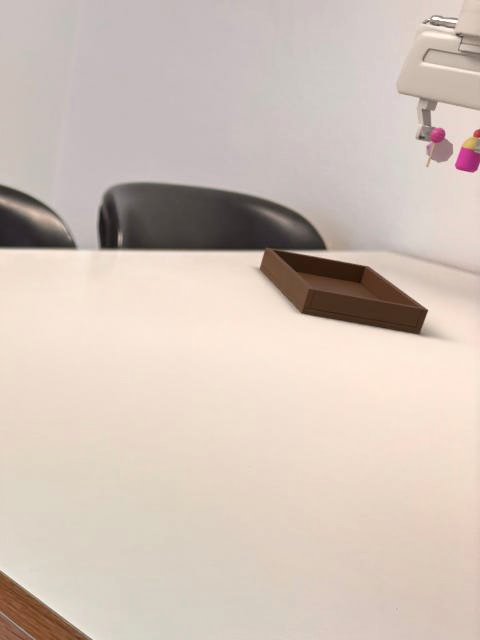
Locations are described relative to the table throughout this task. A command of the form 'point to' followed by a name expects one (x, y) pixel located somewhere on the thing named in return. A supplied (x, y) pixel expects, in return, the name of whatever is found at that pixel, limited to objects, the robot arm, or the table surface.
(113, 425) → the table surface
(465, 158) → the candy
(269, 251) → the tray
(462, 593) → the table surface
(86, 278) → the table surface
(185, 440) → the table surface
